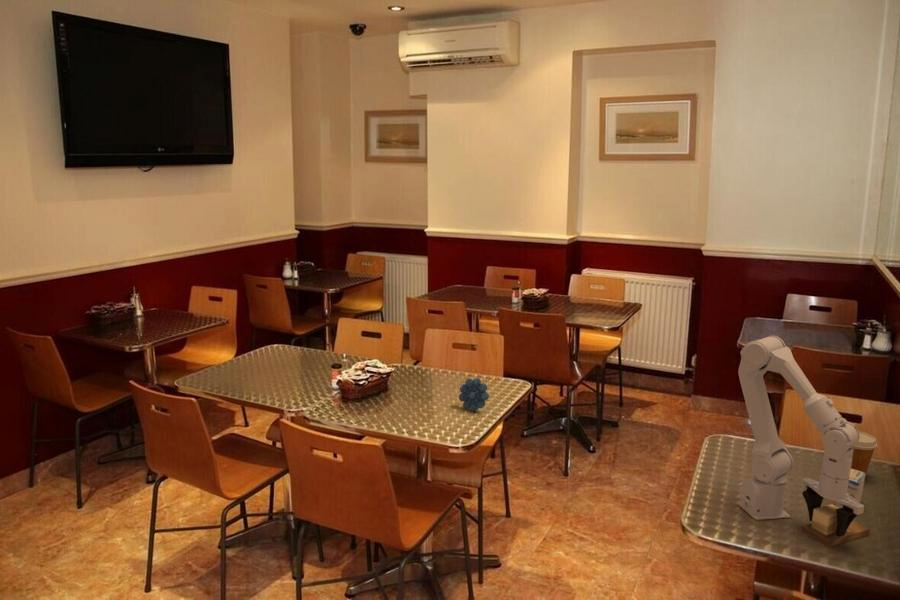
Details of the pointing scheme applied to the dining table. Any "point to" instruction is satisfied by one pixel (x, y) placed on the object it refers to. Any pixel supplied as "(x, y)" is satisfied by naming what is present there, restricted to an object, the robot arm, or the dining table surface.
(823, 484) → the robot arm
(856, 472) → the medicine box
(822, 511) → the sanding block
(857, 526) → the walnut board
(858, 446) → the disposable coffee cup
